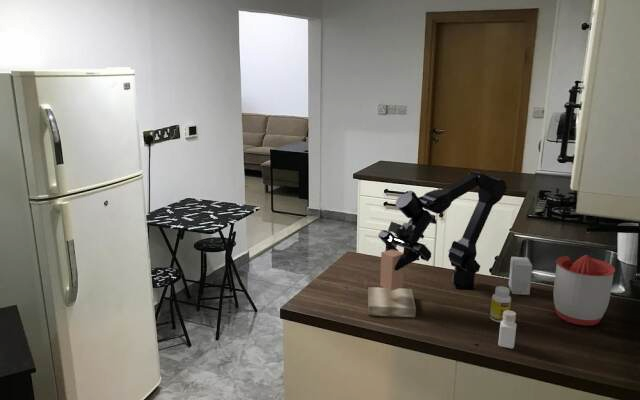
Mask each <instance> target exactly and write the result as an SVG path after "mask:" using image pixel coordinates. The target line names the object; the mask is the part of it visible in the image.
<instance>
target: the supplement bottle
mask: <svg viewBox="0 0 640 400" xmlns="http://www.w3.org/2000/svg"><path fill="white" fill-rule="evenodd" d="M494 292H495V293H494V294H492V296H491V302H490V303H491V304H490V311H489V312H490V314H489V318H490V320H492V321H494V322H496V323H499V324H501V321H503V312H504V311H505V310H510V311H511V305H512V297H511V295H510V293H511V289H510V287H506V286H503V285H502V286H501V285H500V286H496V287H495V291H494Z"/></svg>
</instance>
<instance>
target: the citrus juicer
mask: <svg viewBox="0 0 640 400" xmlns="http://www.w3.org/2000/svg"><path fill="white" fill-rule="evenodd" d="M571 261H572V260H571V258H570V257H569V256H568V255H565V256H560V257H558V258H557V259H556V260H555V263H556V265H555V266H556V268H555V273H554V274H555V276H554V285H553V294H552V295H553V303H554V309H555V312H556V315H557V316H558V317H559V318H560V319H562V320H564V321H566V322H567V323H568V324H574V325H579V326H595V325H597V324H598V323H600V321H602V319H603V317H604V315H605V313H606V311H607V309H608V306H609V303H610V299H611V292H612V286H613V280H614V276H615V275H614V274H615V273H616V268H615V267H614V266H613V265H612V264H610V263H608V262H606V261H603V260H602V259H597V258H594V257H590V256H589V255H587V254H585V255H582V256H581V257H580V258H578V259H576V260H575V261H574V262H571Z"/></svg>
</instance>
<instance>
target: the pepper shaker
mask: <svg viewBox="0 0 640 400" xmlns="http://www.w3.org/2000/svg"><path fill="white" fill-rule="evenodd" d="M516 317H517V313H516V312H515V311H514V310H511V309H510V310H505V311H504V312H503V321H501V323H499V324H500V325H499V332H498V333H499V334H498V343H497V344H498V346H499V347H501V348H508V349H510V350H511V349H514V348H515V343H516V342H515V341H516V334H517V333H516V331H517V323H516Z"/></svg>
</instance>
